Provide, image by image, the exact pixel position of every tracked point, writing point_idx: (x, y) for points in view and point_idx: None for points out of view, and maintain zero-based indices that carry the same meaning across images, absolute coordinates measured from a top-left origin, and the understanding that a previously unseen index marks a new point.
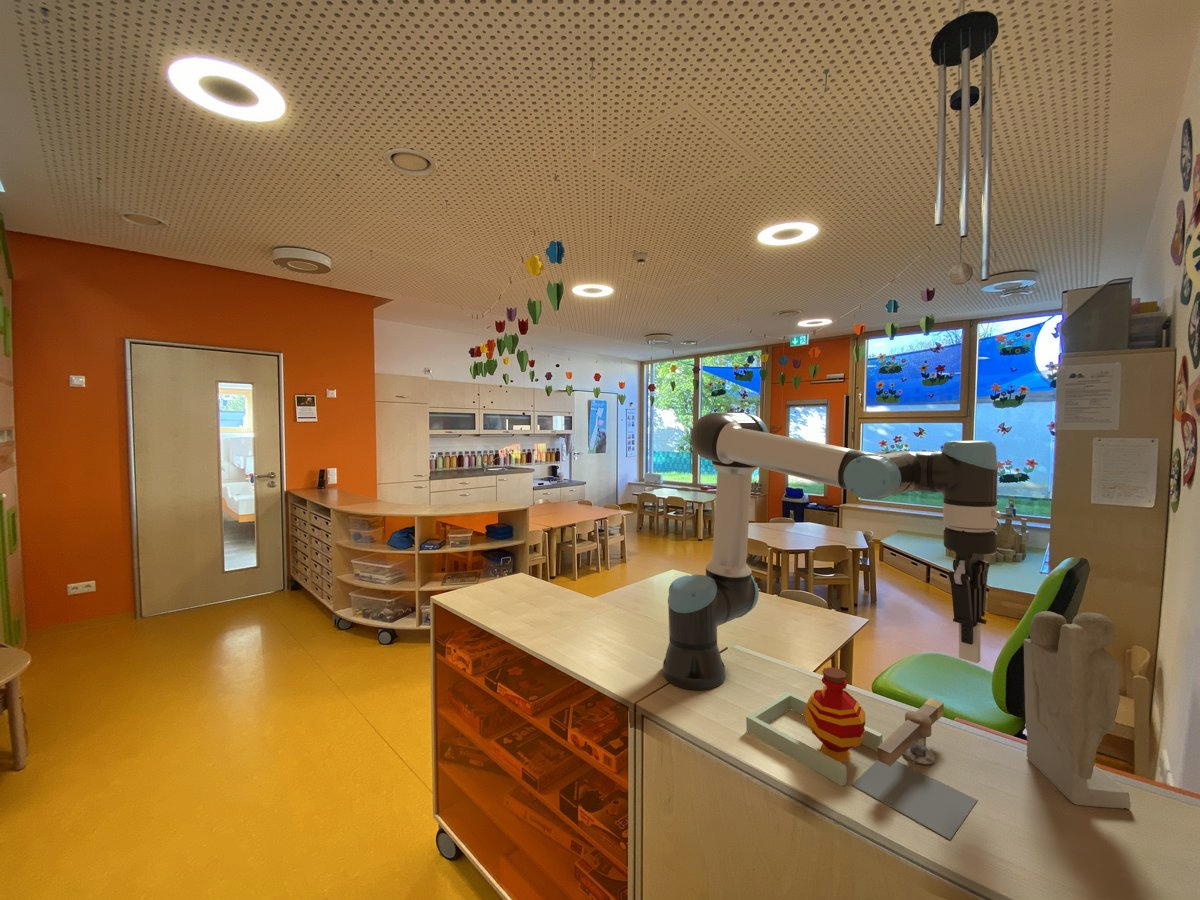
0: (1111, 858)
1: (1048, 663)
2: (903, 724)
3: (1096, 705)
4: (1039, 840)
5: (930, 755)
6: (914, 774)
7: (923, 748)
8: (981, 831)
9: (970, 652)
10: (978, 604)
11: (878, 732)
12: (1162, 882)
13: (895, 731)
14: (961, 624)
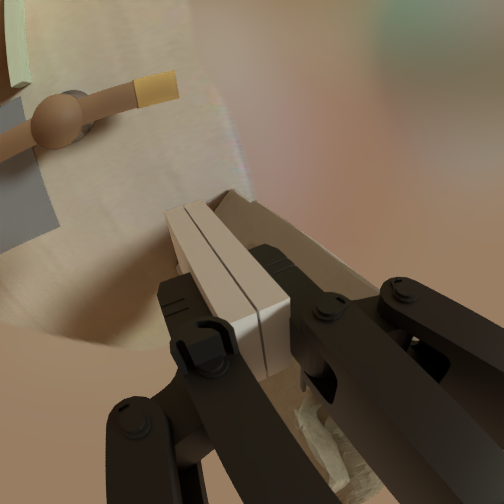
0: (122, 322)
1: (294, 365)
2: (6, 133)
3: None
4: (72, 291)
5: (82, 129)
6: (20, 155)
7: None
8: (20, 264)
9: (183, 268)
10: (365, 459)
11: (21, 74)
12: (136, 344)
13: None
14: (177, 374)
